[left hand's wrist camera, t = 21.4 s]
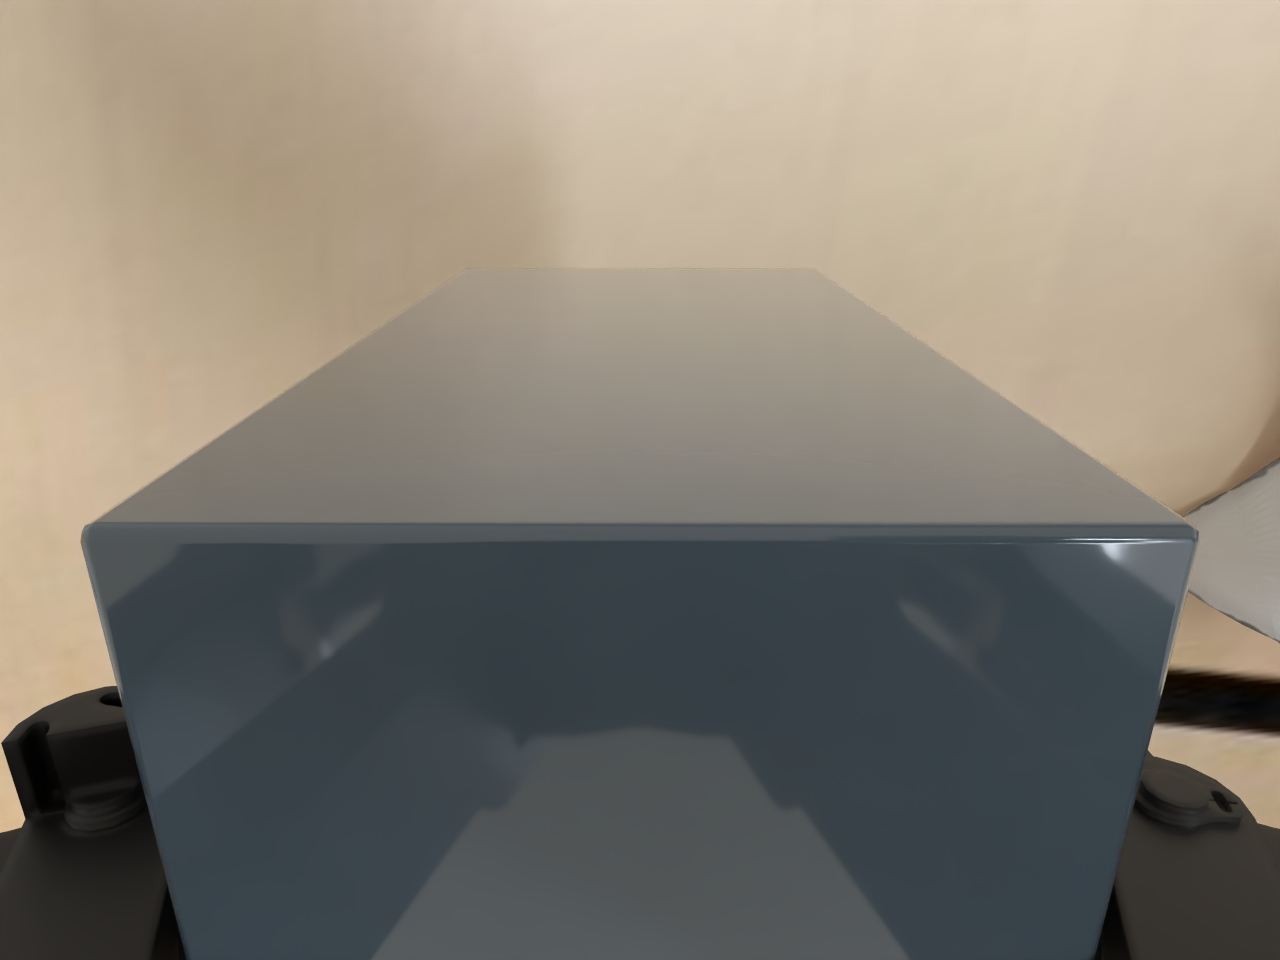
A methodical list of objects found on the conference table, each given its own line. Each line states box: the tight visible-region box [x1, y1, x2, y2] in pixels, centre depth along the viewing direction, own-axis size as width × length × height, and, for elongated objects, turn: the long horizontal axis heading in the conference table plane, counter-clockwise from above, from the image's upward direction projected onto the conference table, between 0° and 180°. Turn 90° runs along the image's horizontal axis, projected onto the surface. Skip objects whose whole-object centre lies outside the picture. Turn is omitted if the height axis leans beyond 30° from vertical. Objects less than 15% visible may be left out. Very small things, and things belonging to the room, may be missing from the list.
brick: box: [81, 268, 1200, 960], centre depth 12 cm, size 9×6×11 cm
